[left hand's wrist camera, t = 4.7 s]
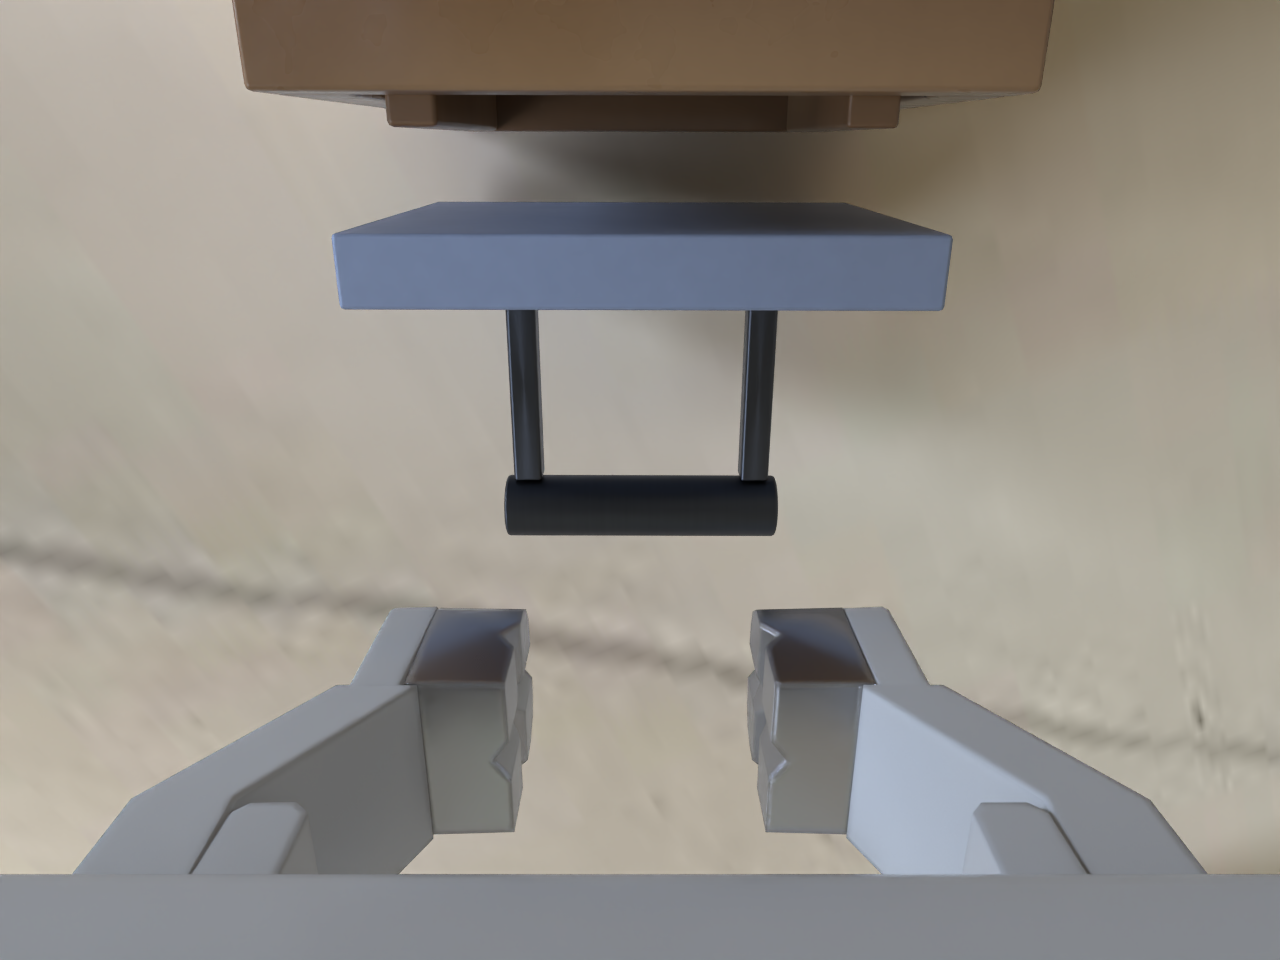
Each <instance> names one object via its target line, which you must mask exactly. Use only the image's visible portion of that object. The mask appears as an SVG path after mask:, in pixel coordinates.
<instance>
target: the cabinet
mask: <svg viewBox="0 0 1280 960" xmlns="http://www.w3.org/2000/svg"><path fill="white" fill-rule="evenodd" d="M232 3H233V10H234V17H235V23H236V30H237V37H238V44H239V50H240V57H241V64H242V71H243V77H244V84H245V86H246V88H247V89H249V90H251V91H255V92H263V93H270V94H279V95H285V96H292V97H300V98H308V99H316V100H324V101H332V102H340V103H348V104H356V105H364V106H372V107H379V108H386V103H385V95H748V96H901V102H900V109H907V108H915V107H923V106H931V105H940V104H948V103H956V102H964V101H973V100H981V99H989V98H998V97H1004V96H1014V95H1022V94H1030V93H1035V92H1037V91H1039V89H1040V87H1041V84H1042V78H1043V71H1044V65H1045V58H1046V52H1047V45H1048V39H1049V32H1050V26H1051V19H1052V13H1053V6H1054V0H232Z"/></svg>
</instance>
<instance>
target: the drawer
mask: <svg viewBox="0 0 1280 960" xmlns="http://www.w3.org/2000/svg"><path fill="white" fill-rule="evenodd" d="M900 102H901V96H748V95H385V103H386V113H387V121H388V123H389V125H391V126H393V127H405V128H423V129H441V130H459V131H571V132H825V131H846V130H866V129H886V128H895V127H897V125H898V122H899V112H900ZM952 242H953V239H952V236H951V235H948V234H945V233H942V232H938V231H935V230H932V229H929V228H925V227H922V226H919V225H915V224H912V223H909V222H906V221H902V220H899V219H896V218H893V217H889V216H886V215H883V214H880V213H876V212H873V211H870V210H866V209H863V208H860V207H857V206H853V205H850V204H847V203H681V202H437V203H433V204H430V205H427V206H424V207H420V208H417V209H414V210H410V211H407V212H404V213H400V214H397V215H394V216H391V217H387V218H384V219H381V220H377V221H374V222H371V223H367V224H364V225H361V226H358V227H354V228H351V229H348V230H344V231H341V232H338V233H335V234H333V235H332V245H333V253H334V261H335V269H336V277H337V286H338V294H339V302H340V306H341V308H343V309H408V310H506V326H507V345H508V363H509V382H510V401H511V419H512V438H513V457H514V475H510V476H509V477H508V479H507V482H506V488H505V501H504V512H505V524H506V529H507V532H508V534H509V535H637V536H772V535H774V533H775V530H776V526H777V517H778V495H777V486H776V481H775V479H774V477H773V476H768V466H769V450H770V433H771V416H772V399H773V383H774V366H775V349H776V332H777V315H778V310H800V311H940V310H942V309H943V308H944V304H945V296H946V288H947V281H948V273H949V265H950V257H951V249H952ZM538 310H745V331H744V352H743V374H742V396H741V417H740V439H739V461H738V472H739V476H709V475H543V473H544V449H543V424H542V399H541V374H540V349H539V324H538Z"/></svg>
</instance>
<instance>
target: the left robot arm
mask: <svg viewBox="0 0 1280 960" xmlns="http://www.w3.org/2000/svg"><path fill="white" fill-rule="evenodd" d="M529 647H530V635H529V622H528V615H527V611H526V609H480V608H440V609H439V608H437V607H410V608H395V609H392V610H391V611H390V612H389V614H388V616H387V617H386V619H385V621H384V623H383V625H382V627H381V628H380V630H379V632H378V634H377V636H376V638H375V640H374V641H373V643H372V645H371V647H370V649H369V651H368V652H367V654H366V656H365V658H364V660H363V662H362V664H361V665H360V667H359V669H358V671H357V673H356V675H355V676H354V678H353V680H352V682H351V684H350V685H336V686H334V687H332V688H330V689H329V690H327V691H325V692H323V693H321V694H319V695H318V696H316V697H314V698H312V699H310V700H309V701H307V702H305V703H303V704H301V705H300V706H298V707H296V708H294V709H292V710H291V711H289V712H287V713H285V714H283V715H282V716H280V717H278V718H276V719H274V720H272V721H271V722H269V723H267V724H265V725H263V726H262V727H260V728H258V729H256V730H254V731H253V732H251V733H249V734H247V735H245V736H244V737H242V738H240V739H238V740H236V741H235V742H233V743H231V744H229V745H227V746H226V747H224V748H222V749H220V750H218V751H216V752H215V753H213V754H211V755H209V756H207V757H206V758H204V759H202V760H200V761H198V762H197V763H195V764H193V765H191V766H189V767H188V768H186V769H184V770H182V771H180V772H179V773H177V774H175V775H173V776H171V777H169V778H168V779H166V780H164V781H162V782H160V783H159V784H157V785H155V786H153V787H151V788H150V789H148V790H146V791H144V792H142V793H141V794H139V795H137V796H135V797H133V798H132V799H131V800H130V801H129V802H128V803H127V805H126V806H125V807H124V808H123V810H122V811H121V812H120V814H119V815H118V816H117V817H116V819H115V820H114V821H113V823H112V824H111V825H110V826H109V828H108V829H107V830H106V831H105V833H104V834H103V835H102V837H101V838H100V839H99V840H98V842H97V843H96V844H95V846H94V847H93V848H92V849H91V851H90V852H89V853H88V854H87V856H86V857H85V858H84V860H83V861H82V862H81V863H80V865H79V866H78V867H77V869H76V870H75V871H74V872H73V874H0V960H1280V874H1207V872H1206V871H1205V870H1204V869H1203V867H1202V866H1201V865H1200V863H1199V862H1198V861H1197V860H1196V858H1195V857H1194V856H1193V854H1192V853H1191V852H1190V851H1189V849H1188V848H1187V847H1186V845H1185V844H1184V843H1183V842H1182V840H1181V839H1180V838H1179V836H1178V835H1177V834H1176V832H1175V831H1174V830H1173V829H1172V827H1171V826H1170V825H1169V823H1168V822H1167V821H1166V820H1165V818H1164V817H1163V816H1162V814H1161V813H1160V812H1159V811H1158V809H1157V808H1156V807H1155V805H1154V804H1153V803H1152V802H1151V800H1149V799H1148V798H1146V797H1144V796H1142V795H1140V794H1139V793H1137V792H1135V791H1133V790H1131V789H1130V788H1128V787H1126V786H1124V785H1122V784H1121V783H1119V782H1117V781H1115V780H1113V779H1112V778H1110V777H1108V776H1106V775H1104V774H1103V773H1101V772H1099V771H1097V770H1095V769H1094V768H1092V767H1090V766H1088V765H1086V764H1085V763H1083V762H1081V761H1079V760H1077V759H1076V758H1074V757H1072V756H1070V755H1068V754H1067V753H1065V752H1063V751H1061V750H1059V749H1058V748H1056V747H1054V746H1052V745H1050V744H1049V743H1047V742H1045V741H1043V740H1041V739H1040V738H1038V737H1036V736H1034V735H1032V734H1031V733H1029V732H1027V731H1025V730H1023V729H1022V728H1020V727H1018V726H1016V725H1014V724H1013V723H1011V722H1009V721H1007V720H1005V719H1004V718H1002V717H1000V716H998V715H996V714H995V713H993V712H991V711H989V710H987V709H986V708H984V707H982V706H980V705H978V704H977V703H975V702H973V701H971V700H969V699H968V698H966V697H964V696H962V695H960V694H959V693H957V692H955V691H953V690H951V689H950V688H948V687H946V686H944V685H930V684H929V682H928V681H927V679H926V677H925V675H924V673H923V671H922V670H921V668H920V666H919V664H918V662H917V660H916V659H915V657H914V655H913V653H912V651H911V650H910V648H909V646H908V644H907V642H906V640H905V639H904V637H903V635H902V633H901V631H900V630H899V628H898V626H897V624H896V622H895V620H894V619H893V617H892V615H891V613H890V611H889V610H888V609H886V608H884V607H863V608H810V609H768V610H755V611H753V614H752V621H751V631H750V648H751V653H752V658H753V662H754V667H755V670H754V671H753V672H752V673H751V675H750V676H749V677H748V692H747V721H748V735H749V744H750V750H751V756H752V760H753V761H754V762H755V763H757V764H758V780H757V789H758V795H759V800H760V805H761V810H762V815H763V820H764V826H765V831H766V832H783V833H819V834H847V837H846V838H847V839H848V840H849V841H850V842H851V843H852V844H853V845H854V846H855V847H856V848H857V849H858V850H859V851H860V852H861V853H862V854H863V855H864V856H865V857H866V858H867V859H868V860H869V861H870V862H871V863H872V865H873V866H874V867H875V868H876V869H877V870H878V871H879V872H880V873H881V874H399V873H400V872H401V871H402V870H403V869H404V868H405V867H406V866H407V865H408V864H409V863H410V862H411V861H412V860H413V859H414V858H415V857H416V856H417V855H418V854H419V853H420V852H421V851H422V850H423V849H424V848H425V847H426V846H427V845H428V844H429V842H430V841H431V840H432V839H433V834H459V833H495V832H514V831H515V826H516V820H517V815H518V810H519V805H520V799H521V794H522V789H523V783H522V764H523V763H524V762H526V761H527V760H528V756H529V749H530V743H531V732H532V719H533V690H532V677H531V676H530V675H529V674H528V672H527V671H526V670H525V667H526V662H527V657H528V652H529Z"/></svg>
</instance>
